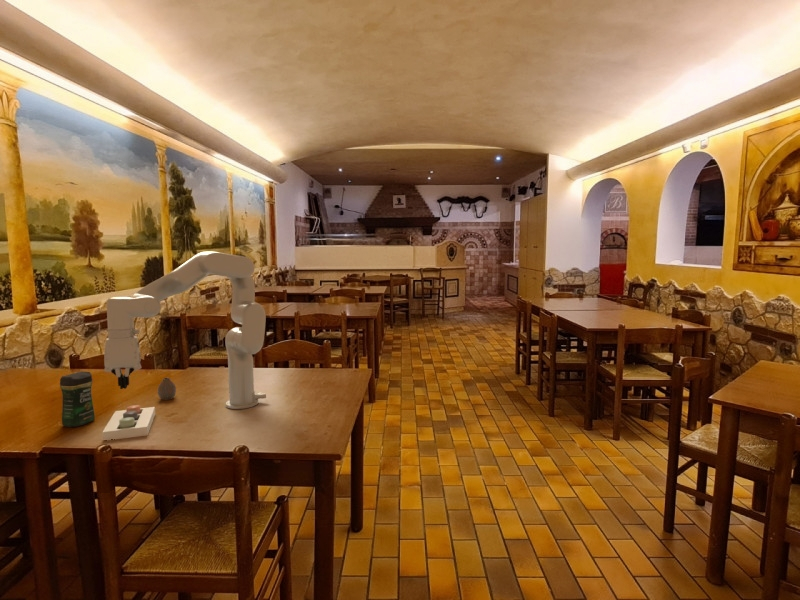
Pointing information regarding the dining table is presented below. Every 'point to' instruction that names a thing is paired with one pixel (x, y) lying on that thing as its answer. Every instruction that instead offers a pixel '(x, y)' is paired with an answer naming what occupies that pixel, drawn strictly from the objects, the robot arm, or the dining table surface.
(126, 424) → the button sage
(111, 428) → the button panel
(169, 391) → the vase
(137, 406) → the button terracotta
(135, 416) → the button charcoal
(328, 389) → the dining table surface
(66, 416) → the coffee jar
